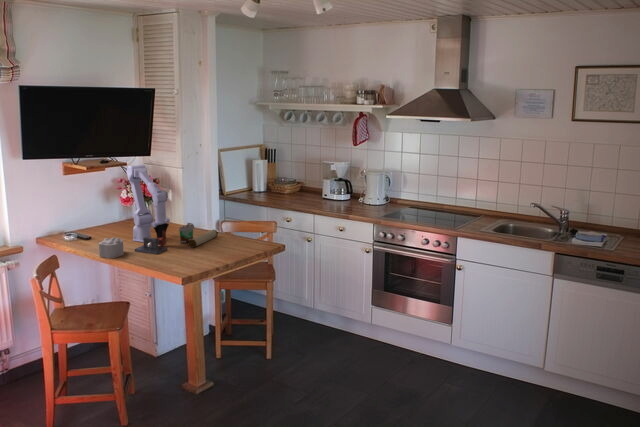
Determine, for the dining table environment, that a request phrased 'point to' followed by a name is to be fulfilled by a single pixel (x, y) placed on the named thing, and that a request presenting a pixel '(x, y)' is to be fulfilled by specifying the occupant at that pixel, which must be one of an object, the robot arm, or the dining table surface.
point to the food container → (186, 233)
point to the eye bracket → (152, 249)
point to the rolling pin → (202, 238)
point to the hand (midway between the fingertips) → (161, 236)
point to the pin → (160, 239)
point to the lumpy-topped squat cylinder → (111, 248)
